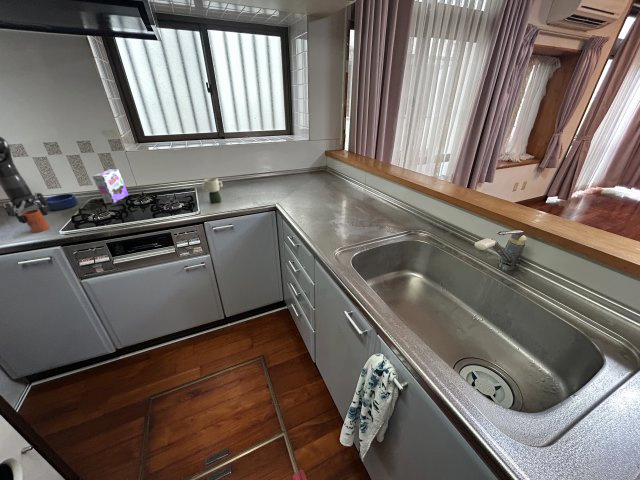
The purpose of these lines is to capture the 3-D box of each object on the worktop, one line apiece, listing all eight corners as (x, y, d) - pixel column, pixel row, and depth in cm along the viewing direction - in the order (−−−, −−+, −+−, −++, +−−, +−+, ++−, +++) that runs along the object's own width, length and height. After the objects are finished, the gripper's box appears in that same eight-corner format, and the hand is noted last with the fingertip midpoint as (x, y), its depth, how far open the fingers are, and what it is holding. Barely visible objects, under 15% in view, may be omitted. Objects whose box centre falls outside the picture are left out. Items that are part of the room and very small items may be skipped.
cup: (29, 233, 123) (17, 215, 119) (37, 227, 128) (26, 210, 124) (45, 231, 125) (34, 213, 120) (52, 225, 130) (42, 208, 125)
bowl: (43, 212, 144) (38, 203, 141) (56, 203, 155) (51, 195, 152) (72, 209, 147) (67, 200, 145) (82, 200, 158) (78, 192, 156)
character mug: (224, 197, 159) (220, 176, 152) (226, 201, 153) (222, 179, 147) (205, 201, 155) (199, 179, 148) (206, 205, 149) (201, 182, 143)
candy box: (114, 203, 153) (102, 175, 145) (104, 203, 153) (91, 175, 145) (129, 195, 165) (119, 168, 157) (120, 195, 165) (109, 168, 157)
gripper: (26, 179, 122) (45, 212, 130) (-13, 190, 110) (10, 225, 118) (39, 180, 121) (57, 213, 129) (0, 191, 109) (23, 226, 117)
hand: (35, 218), depth 124 cm, fingers open, 8 cm apart
